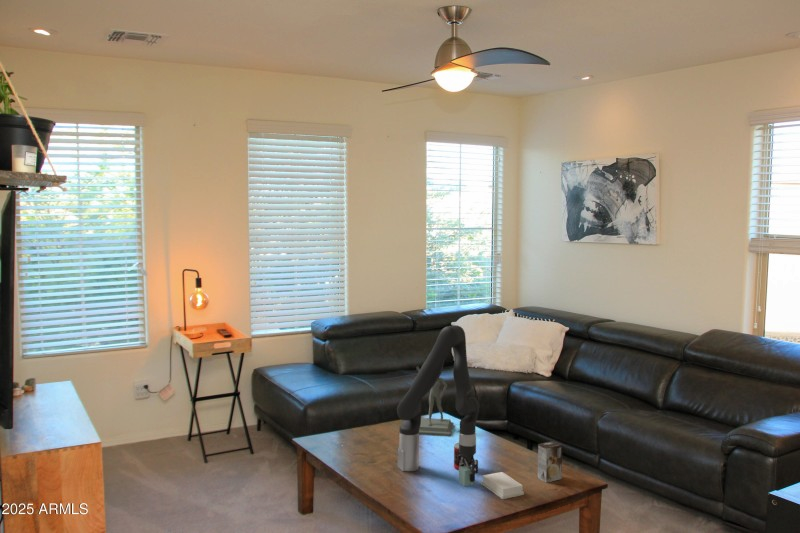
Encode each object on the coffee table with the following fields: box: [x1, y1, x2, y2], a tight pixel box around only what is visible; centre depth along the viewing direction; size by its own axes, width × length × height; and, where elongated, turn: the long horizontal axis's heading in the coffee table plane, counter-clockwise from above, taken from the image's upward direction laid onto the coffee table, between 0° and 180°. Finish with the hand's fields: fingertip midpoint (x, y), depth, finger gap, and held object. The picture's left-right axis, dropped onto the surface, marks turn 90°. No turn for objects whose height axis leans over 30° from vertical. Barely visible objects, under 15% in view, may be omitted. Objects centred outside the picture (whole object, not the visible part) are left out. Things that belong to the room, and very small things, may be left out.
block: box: [458, 466, 475, 487], centre depth 294 cm, size 5×5×7 cm
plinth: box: [480, 471, 525, 500], centre depth 288 cm, size 11×17×4 cm, turn 24°
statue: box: [415, 366, 455, 437], centre depth 365 cm, size 20×19×36 cm
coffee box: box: [537, 440, 563, 483], centre depth 299 cm, size 9×6×16 cm
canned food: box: [453, 442, 466, 471], centre depth 312 cm, size 8×8×11 cm
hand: (467, 478), depth 295 cm, fingers open, 8 cm apart
